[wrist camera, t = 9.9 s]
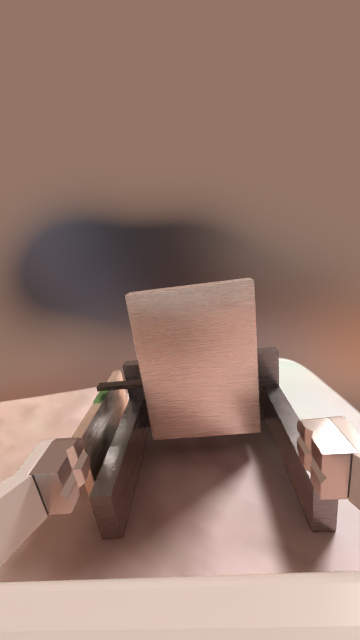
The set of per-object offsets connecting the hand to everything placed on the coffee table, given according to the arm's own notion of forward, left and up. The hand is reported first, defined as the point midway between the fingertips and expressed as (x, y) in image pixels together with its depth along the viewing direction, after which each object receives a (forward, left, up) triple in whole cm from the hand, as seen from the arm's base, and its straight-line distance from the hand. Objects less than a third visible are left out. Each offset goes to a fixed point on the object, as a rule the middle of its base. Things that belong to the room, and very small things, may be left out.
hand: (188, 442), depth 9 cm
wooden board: (-2, +12, -10) cm, 16 cm away
